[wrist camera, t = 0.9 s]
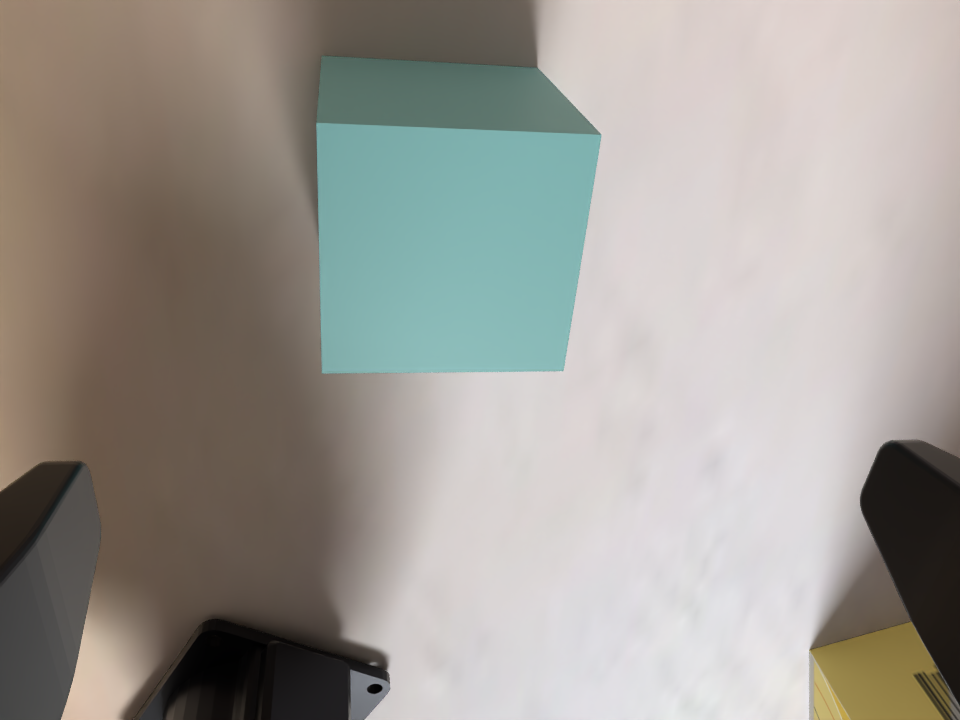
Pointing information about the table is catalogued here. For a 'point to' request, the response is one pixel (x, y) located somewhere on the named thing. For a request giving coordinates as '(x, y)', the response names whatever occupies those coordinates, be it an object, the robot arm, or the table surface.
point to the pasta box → (878, 679)
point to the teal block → (448, 216)
